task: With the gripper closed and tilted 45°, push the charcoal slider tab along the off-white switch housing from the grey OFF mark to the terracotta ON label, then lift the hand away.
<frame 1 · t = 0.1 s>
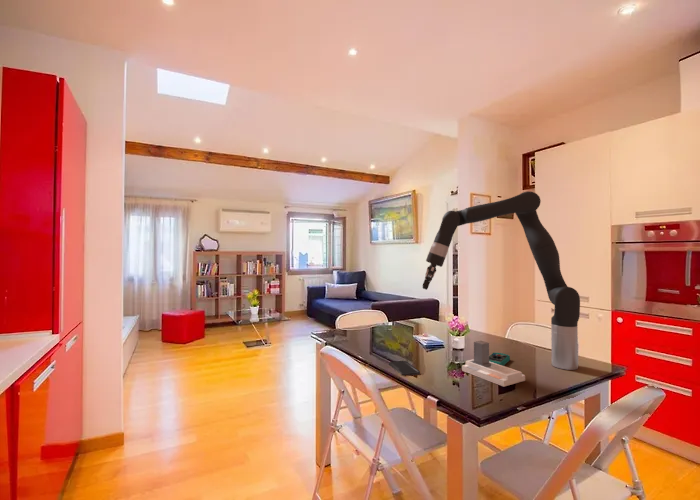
hand: (424, 288, 152), 31 cm above the table, tool tilted 20°, fingers open, 8 cm apart
switch housing: (492, 375, 131), on the table
slider tab: (481, 353, 135), point 7 cm above the table, slide at 0.0 cm
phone: (403, 370, 138), on the table
digital multimeter: (496, 364, 146), on the table
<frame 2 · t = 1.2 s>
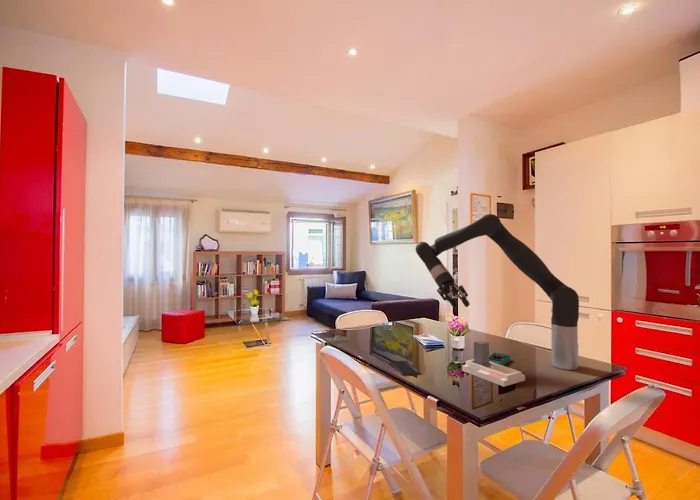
hand: (462, 306, 144), 24 cm above the table, tool tilted 45°, fingers open, 6 cm apart
nothing on the table moved.
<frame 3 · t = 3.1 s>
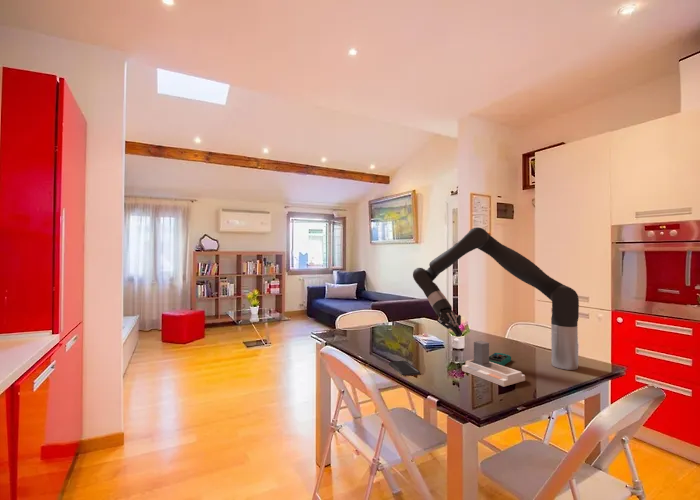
hand: (460, 335, 145), 12 cm above the table, tool tilted 45°, fingers closed
nothing on the table moved.
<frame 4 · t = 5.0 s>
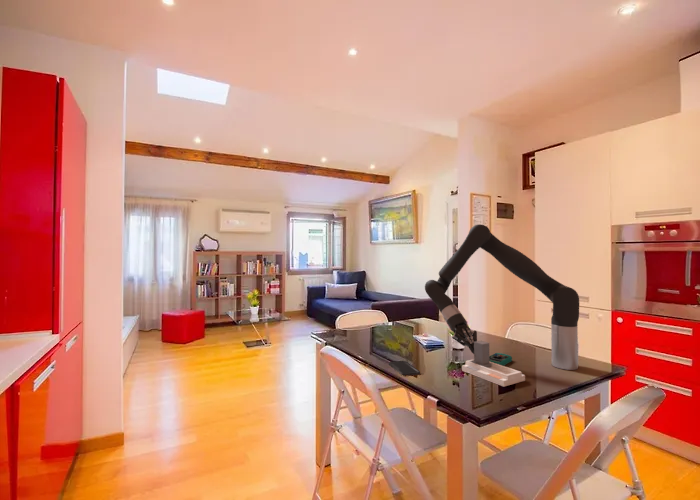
hand: (476, 353, 137), 7 cm above the table, tool tilted 45°, fingers closed
slider tab: (481, 354, 135), point 7 cm above the table, slide at 0.1 cm, touching gripper
everything else where it was.
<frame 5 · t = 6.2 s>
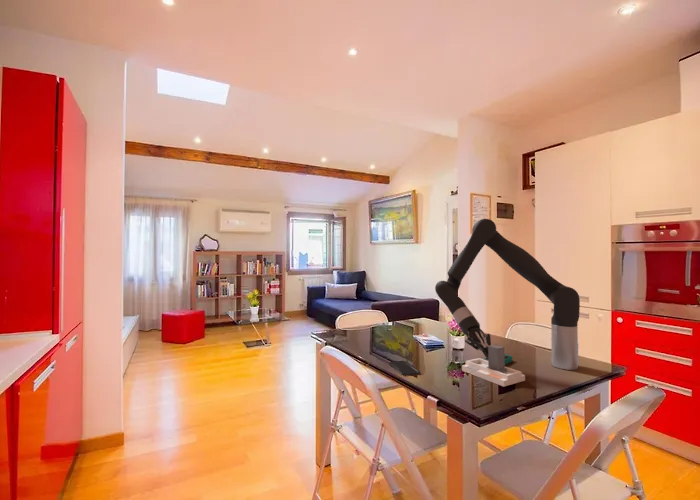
hand: (490, 357, 131), 7 cm above the table, tool tilted 45°, fingers closed
slider tab: (496, 358, 129), point 7 cm above the table, slide at 6.9 cm, touching gripper
everything else where it was.
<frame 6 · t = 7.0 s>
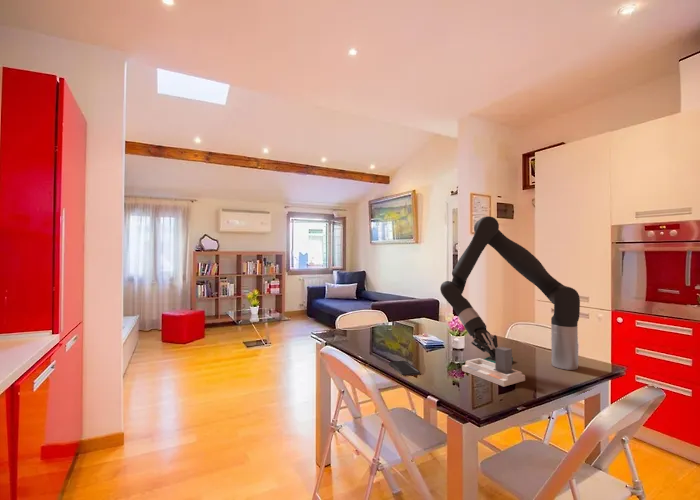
hand: (497, 359, 129), 7 cm above the table, tool tilted 45°, fingers closed
slider tab: (503, 360, 126), point 7 cm above the table, slide at 10.0 cm, touching gripper
everything else where it was.
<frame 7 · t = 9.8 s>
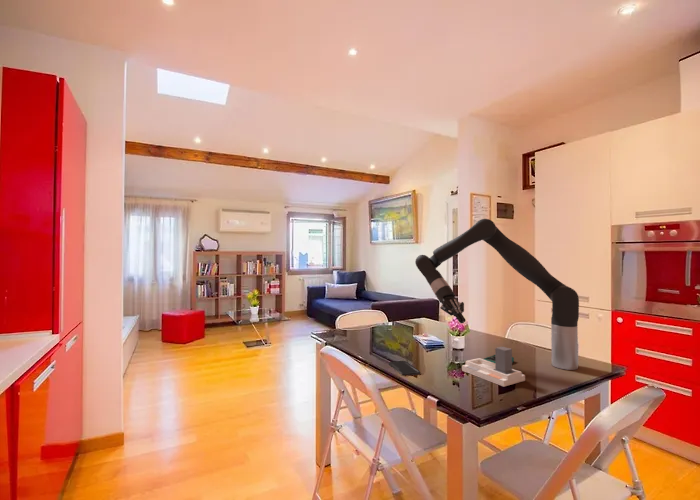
hand: (463, 322, 143), 18 cm above the table, tool tilted 45°, fingers closed
slider tab: (503, 360, 126), point 7 cm above the table, slide at 10.1 cm
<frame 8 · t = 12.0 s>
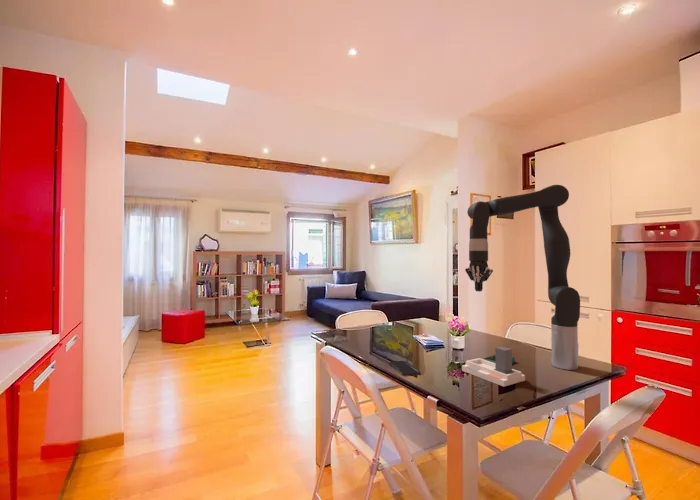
hand: (478, 291, 143), 31 cm above the table, tool pointing down, fingers closed
at the end: slider tab slide at 10.1 cm; digital multimeter moved 1.1 cm from its start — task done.
